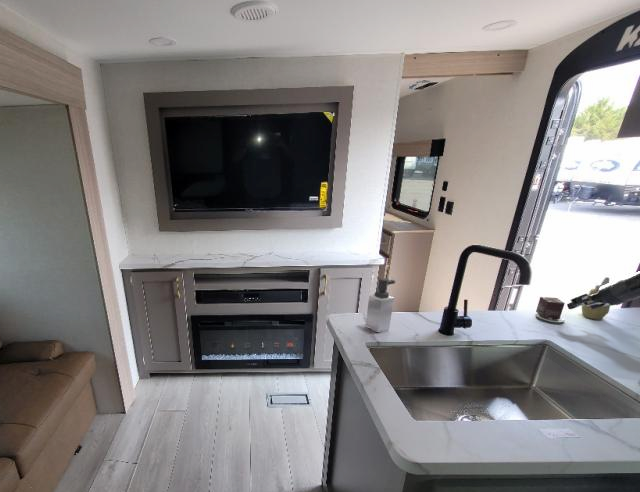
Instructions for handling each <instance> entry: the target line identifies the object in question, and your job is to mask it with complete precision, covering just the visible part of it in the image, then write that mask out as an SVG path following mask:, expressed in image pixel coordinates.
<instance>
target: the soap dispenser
mask: <svg viewBox="0 0 640 492" xmlns="http://www.w3.org/2000/svg"><path fill="white" fill-rule="evenodd" d="M394 284H396V280H394V279H389V278H386V277H379V278H378V287H377V290H376V291H375V292H374V293H373V294H369V295H368V302H367V303H368V304H367V311H366V319H365V327H366V326H368V327H370V328H371V329H373V330H374V331H376V332H381V331H384V332H386V331H385V330H388V329H389V330H390V327H391V320H392V313H393V306H394V301H395V300H394V299H395V298H394V297H393V296H390V294H389V291H387V290H388V285H394ZM389 330H388V331H389ZM374 331H373V332H374ZM381 333H382V332H381Z"/></svg>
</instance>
